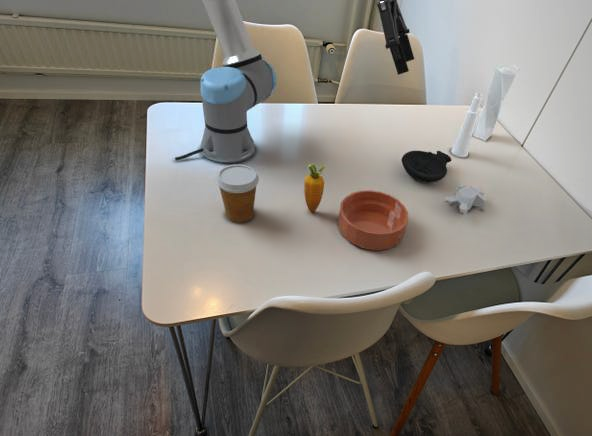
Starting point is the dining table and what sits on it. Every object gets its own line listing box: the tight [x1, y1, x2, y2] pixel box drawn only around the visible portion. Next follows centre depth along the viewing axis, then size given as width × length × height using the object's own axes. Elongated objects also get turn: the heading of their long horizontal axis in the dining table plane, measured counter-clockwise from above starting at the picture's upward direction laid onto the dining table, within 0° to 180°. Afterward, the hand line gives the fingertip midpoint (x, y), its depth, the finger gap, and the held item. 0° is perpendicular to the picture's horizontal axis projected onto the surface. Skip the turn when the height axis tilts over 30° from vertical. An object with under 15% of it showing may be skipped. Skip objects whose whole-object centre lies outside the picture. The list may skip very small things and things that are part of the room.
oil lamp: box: [401, 150, 452, 184], centre depth 127 cm, size 15×20×5 cm
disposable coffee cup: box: [215, 163, 260, 223], centre depth 97 cm, size 10×10×12 cm
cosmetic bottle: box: [450, 92, 483, 158], centre depth 136 cm, size 6×6×22 cm
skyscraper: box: [472, 64, 519, 142], centre depth 148 cm, size 8×8×28 cm
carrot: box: [303, 163, 326, 214], centre depth 100 cm, size 5×5×15 cm
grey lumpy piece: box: [442, 185, 487, 215], centre depth 117 cm, size 10×5×15 cm
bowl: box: [337, 189, 409, 251], centre depth 102 cm, size 17×17×6 cm
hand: (406, 66), depth 104 cm, fingers open, 13 cm apart
